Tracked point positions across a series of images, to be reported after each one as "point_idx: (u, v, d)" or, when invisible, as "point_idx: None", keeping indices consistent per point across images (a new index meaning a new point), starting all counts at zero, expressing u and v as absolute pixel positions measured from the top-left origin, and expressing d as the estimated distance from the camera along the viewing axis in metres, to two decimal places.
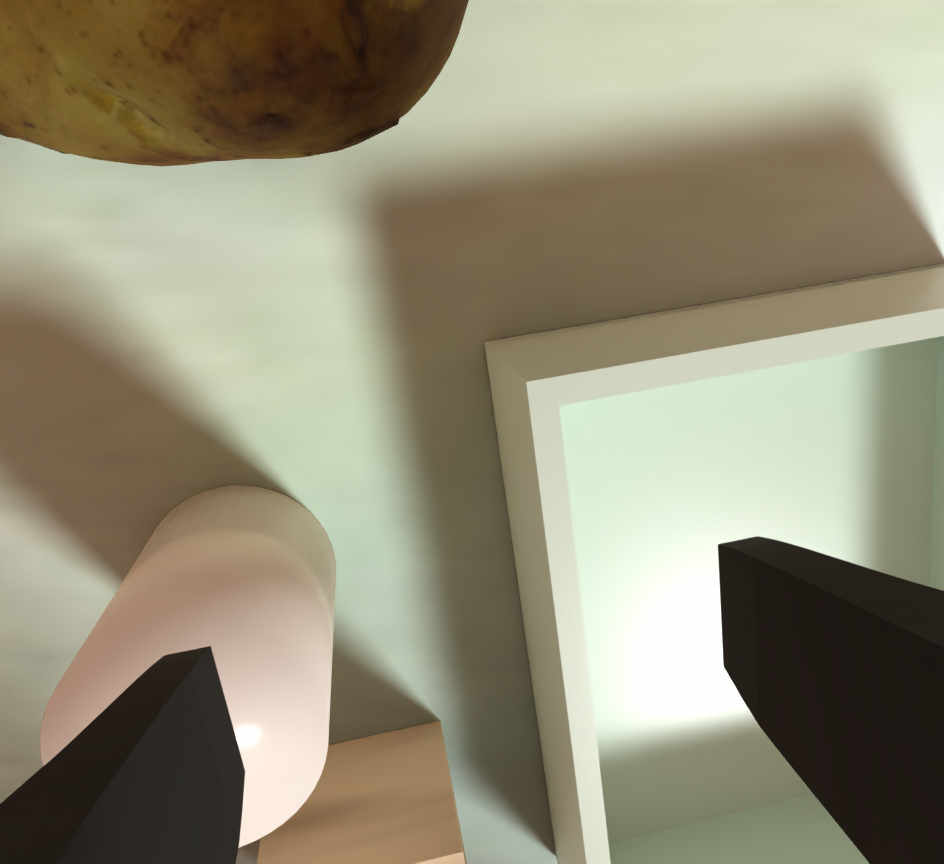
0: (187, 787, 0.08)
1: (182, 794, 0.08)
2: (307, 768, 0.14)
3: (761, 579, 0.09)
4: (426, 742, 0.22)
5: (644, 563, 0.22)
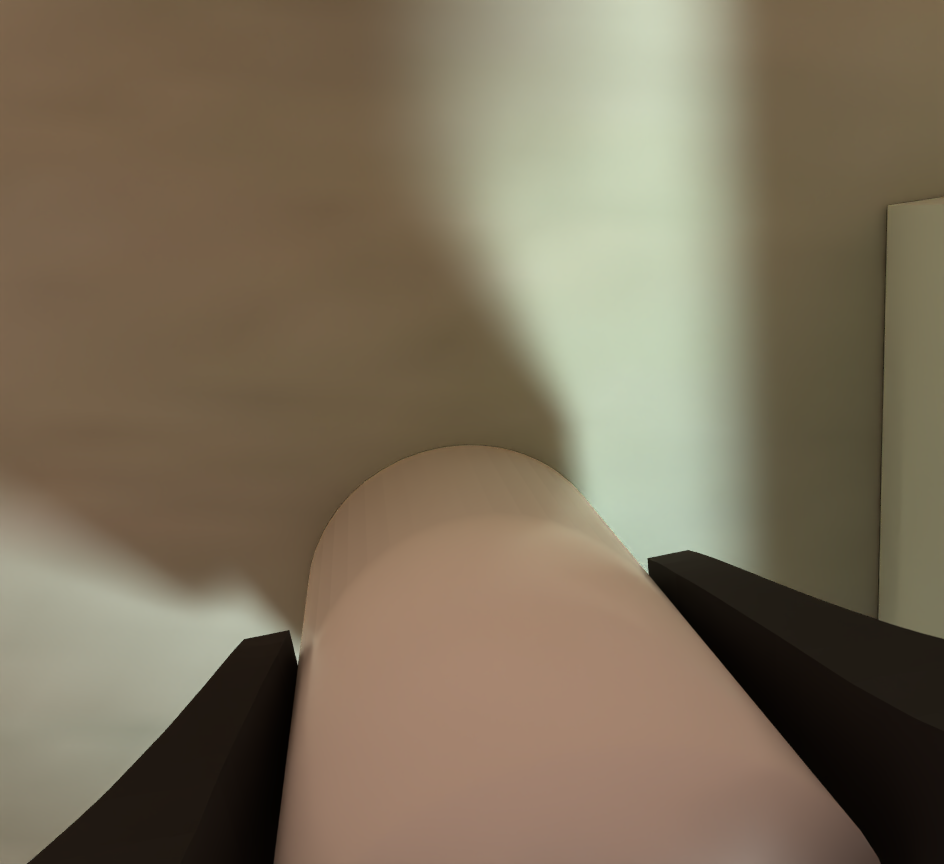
0: (281, 766, 0.08)
1: (277, 772, 0.08)
2: None
3: (683, 595, 0.09)
4: None
5: None
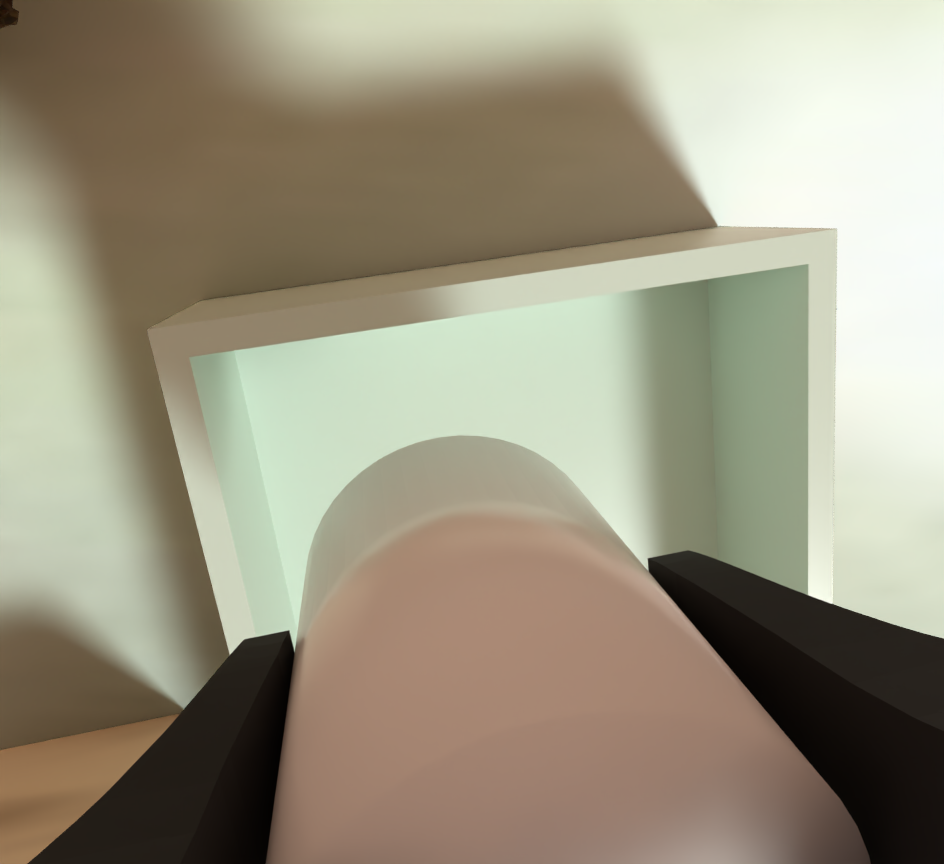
0: None
1: (277, 771, 0.08)
2: None
3: (683, 595, 0.09)
4: None
5: None
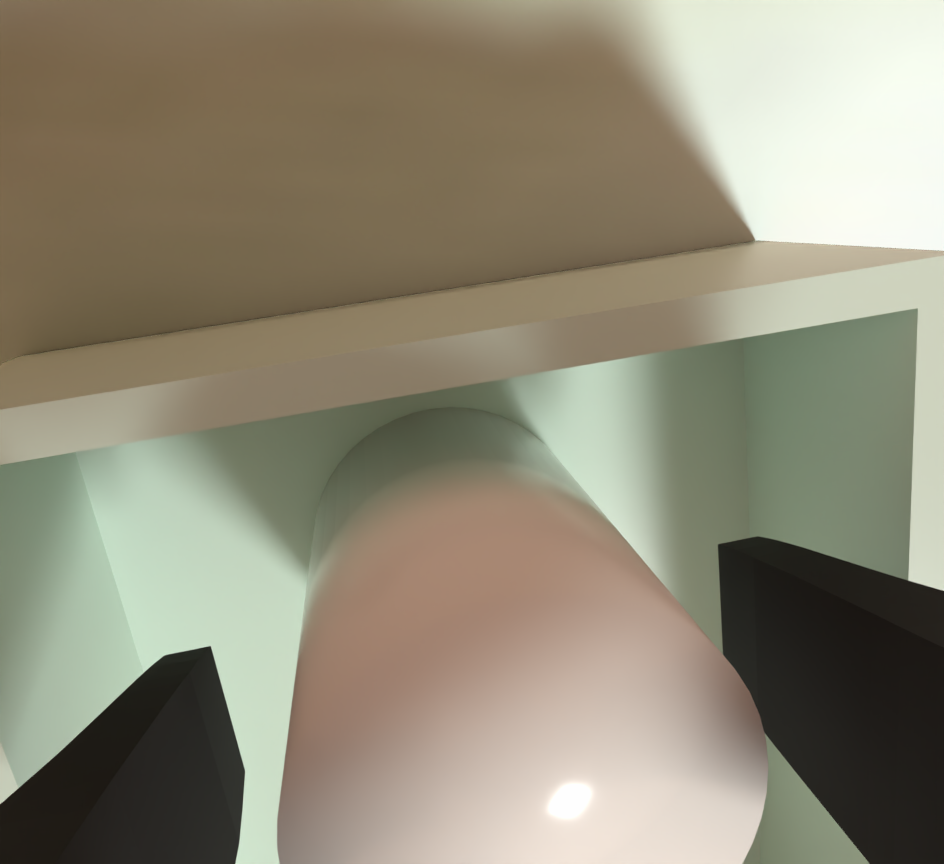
0: (187, 787, 0.08)
1: (183, 793, 0.08)
2: (720, 858, 0.08)
3: (761, 579, 0.09)
4: None
5: None
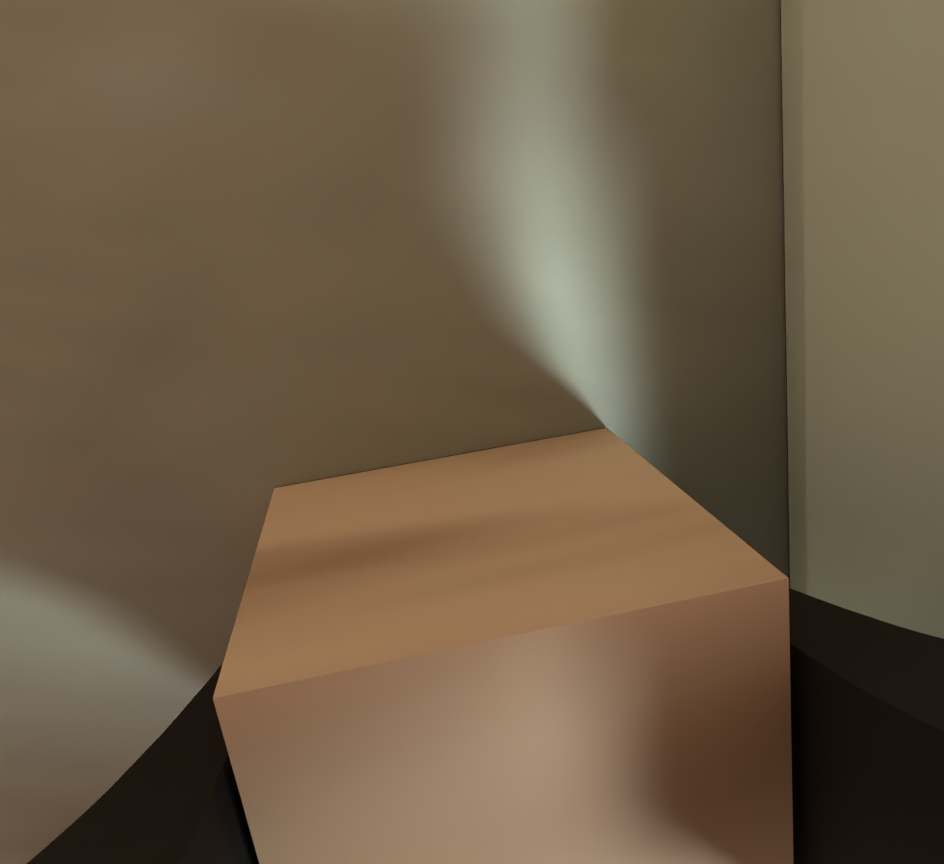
0: None
1: None
2: None
3: None
4: (592, 451, 0.10)
5: None
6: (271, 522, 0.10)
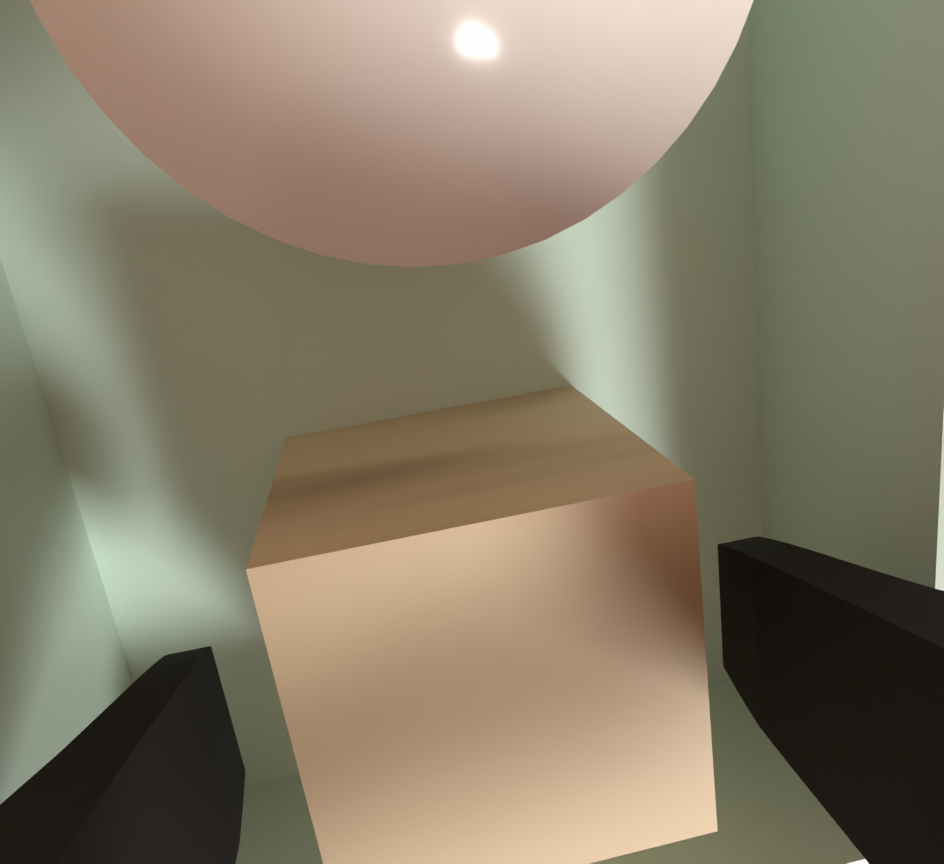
0: (188, 787, 0.08)
1: (183, 793, 0.08)
2: (707, 14, 0.05)
3: (761, 579, 0.09)
4: (556, 402, 0.12)
5: (214, 267, 0.12)
6: (284, 461, 0.11)
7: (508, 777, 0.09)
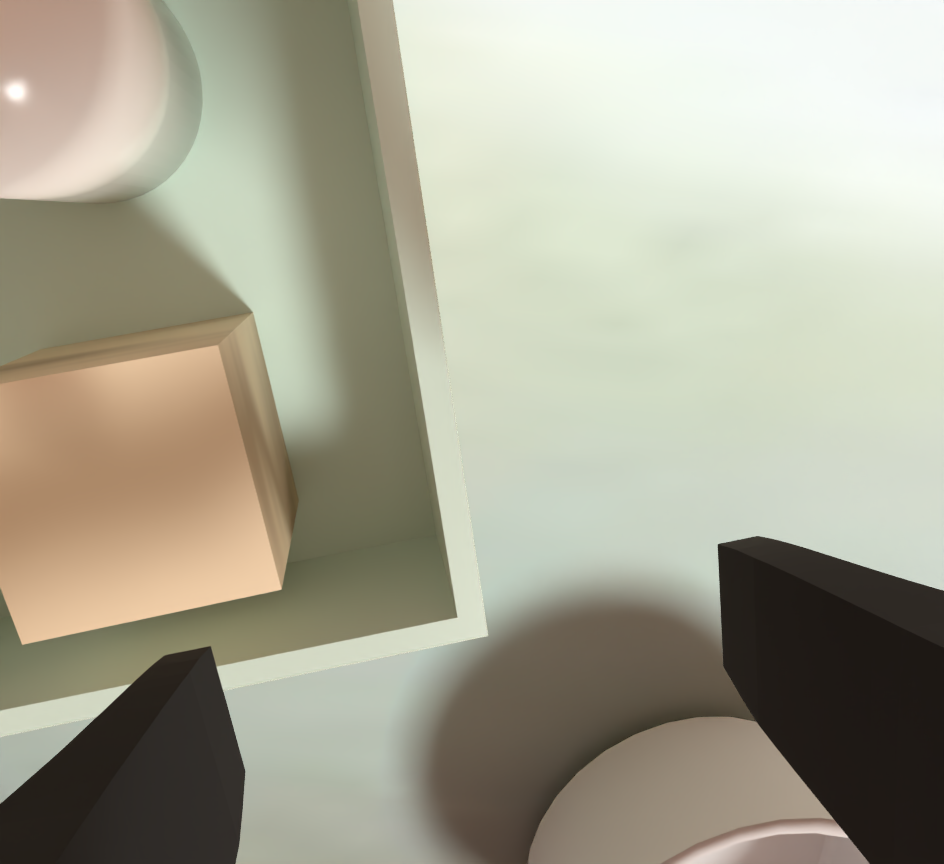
0: (188, 787, 0.08)
1: (183, 794, 0.08)
2: (77, 65, 0.10)
3: (761, 579, 0.09)
4: (226, 320, 0.17)
5: None
6: (21, 358, 0.17)
7: (123, 543, 0.14)
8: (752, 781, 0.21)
